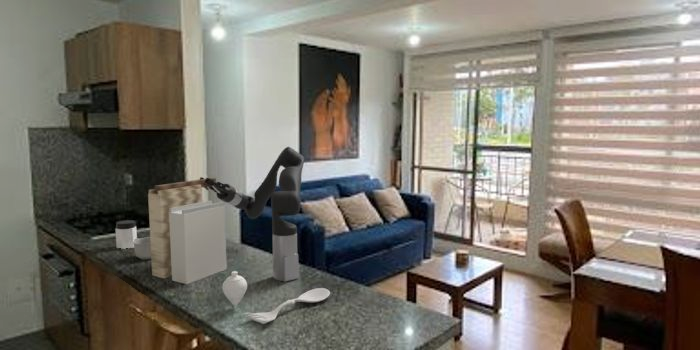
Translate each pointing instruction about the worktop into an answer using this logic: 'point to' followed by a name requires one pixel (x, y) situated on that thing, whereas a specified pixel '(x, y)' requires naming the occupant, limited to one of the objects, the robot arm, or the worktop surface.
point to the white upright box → (197, 241)
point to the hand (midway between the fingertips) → (203, 179)
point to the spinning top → (234, 288)
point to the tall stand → (166, 223)
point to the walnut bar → (182, 184)
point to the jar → (125, 234)
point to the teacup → (142, 248)
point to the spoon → (308, 297)
